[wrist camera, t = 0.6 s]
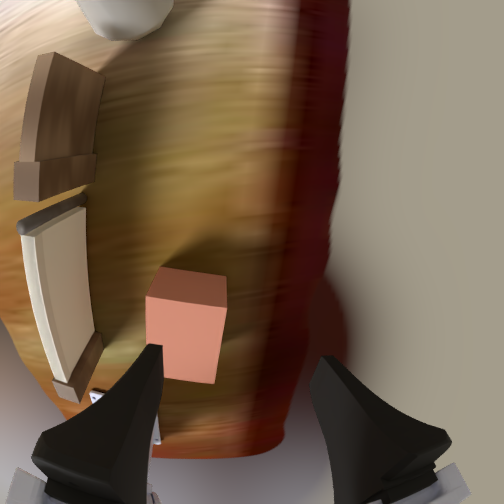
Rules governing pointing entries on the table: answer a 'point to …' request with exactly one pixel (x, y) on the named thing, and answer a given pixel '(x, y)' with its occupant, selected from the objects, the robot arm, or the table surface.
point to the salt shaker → (125, 17)
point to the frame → (60, 164)
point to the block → (187, 322)
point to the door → (60, 288)
